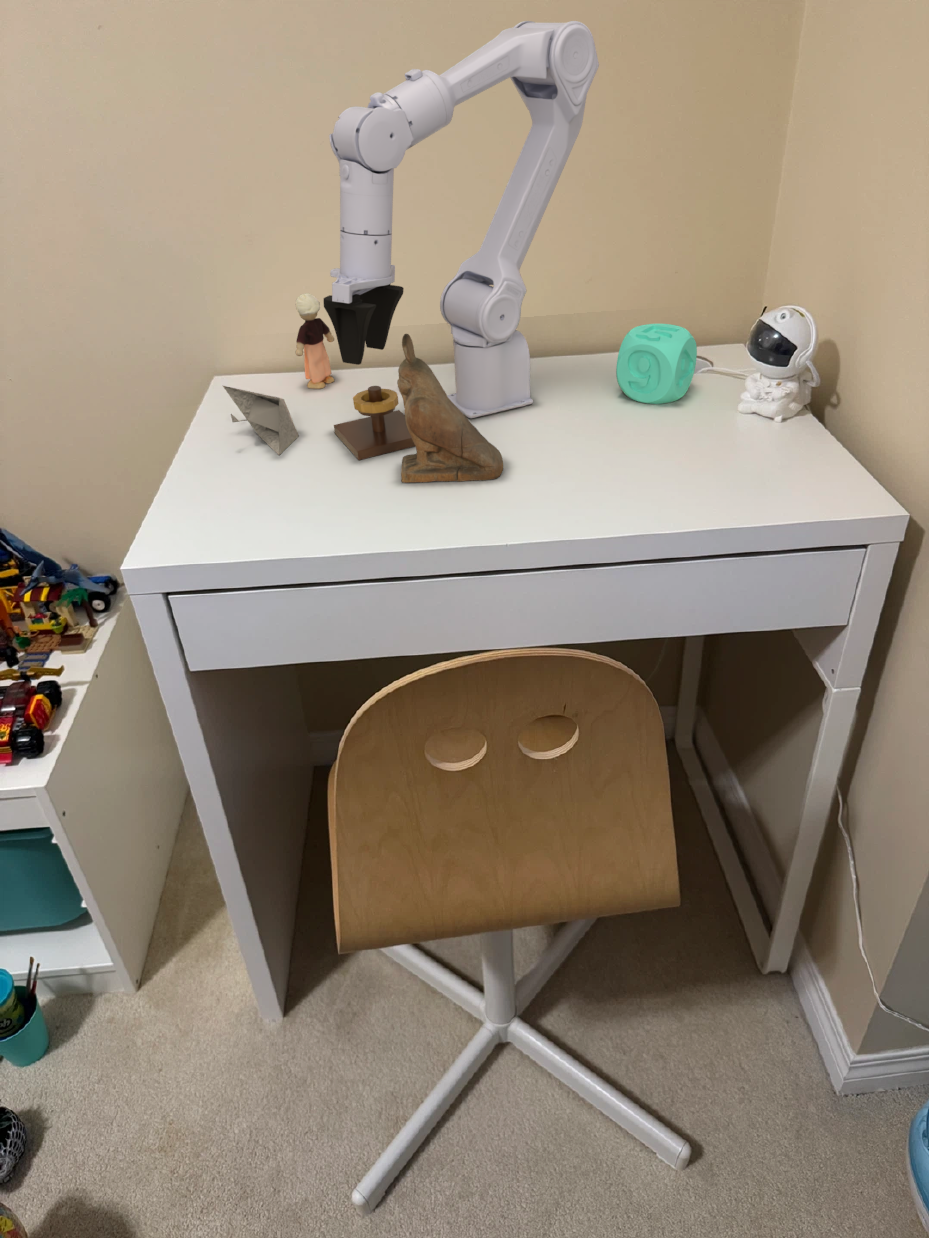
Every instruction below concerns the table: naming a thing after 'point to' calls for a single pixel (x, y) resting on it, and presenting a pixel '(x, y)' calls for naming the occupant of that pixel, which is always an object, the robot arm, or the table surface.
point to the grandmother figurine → (313, 342)
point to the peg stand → (375, 431)
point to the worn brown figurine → (440, 430)
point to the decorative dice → (656, 363)
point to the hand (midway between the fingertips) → (364, 355)
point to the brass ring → (375, 406)
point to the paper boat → (265, 417)
